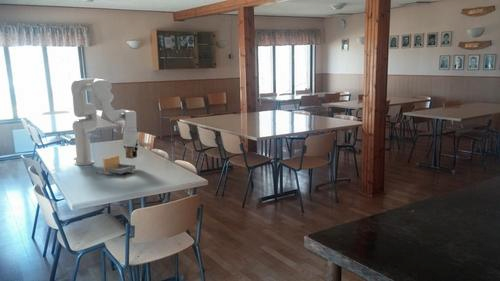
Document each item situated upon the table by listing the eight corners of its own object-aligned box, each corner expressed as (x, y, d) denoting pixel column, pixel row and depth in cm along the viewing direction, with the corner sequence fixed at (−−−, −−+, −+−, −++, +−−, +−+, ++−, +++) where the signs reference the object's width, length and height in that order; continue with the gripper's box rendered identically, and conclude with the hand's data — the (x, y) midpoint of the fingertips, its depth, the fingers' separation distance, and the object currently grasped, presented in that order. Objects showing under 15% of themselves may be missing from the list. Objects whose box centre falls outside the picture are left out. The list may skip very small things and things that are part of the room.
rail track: (96, 172, 263) (96, 172, 262) (108, 169, 272) (108, 168, 272) (124, 176, 253) (124, 175, 253) (135, 172, 263) (135, 171, 263)
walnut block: (126, 157, 272) (125, 147, 271) (131, 156, 277) (130, 146, 275) (131, 158, 270) (131, 148, 269) (136, 157, 275) (136, 147, 273)
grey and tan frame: (104, 173, 258) (103, 159, 256) (118, 168, 270) (117, 155, 268) (121, 175, 252) (120, 161, 251) (135, 170, 264) (134, 157, 262)
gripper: (116, 129, 270) (117, 155, 273) (137, 131, 263) (137, 158, 266) (124, 127, 277) (125, 153, 280) (144, 129, 270) (145, 156, 273)
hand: (131, 155), depth 273 cm, fingers closed on walnut block, 5 cm apart
